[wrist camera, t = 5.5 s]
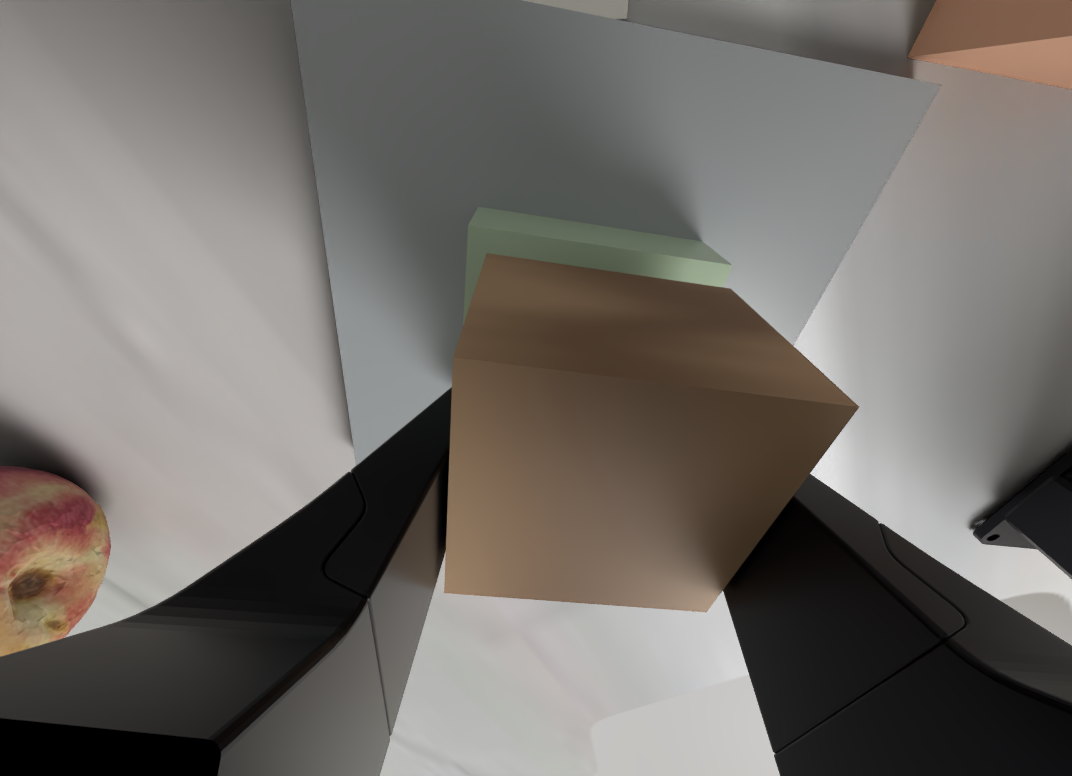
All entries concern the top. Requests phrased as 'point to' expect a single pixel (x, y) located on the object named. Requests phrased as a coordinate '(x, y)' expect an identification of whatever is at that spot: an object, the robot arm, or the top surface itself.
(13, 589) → the fruit
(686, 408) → the brown block
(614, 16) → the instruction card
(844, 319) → the top surface
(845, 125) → the plate
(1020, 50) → the brick terracotta
